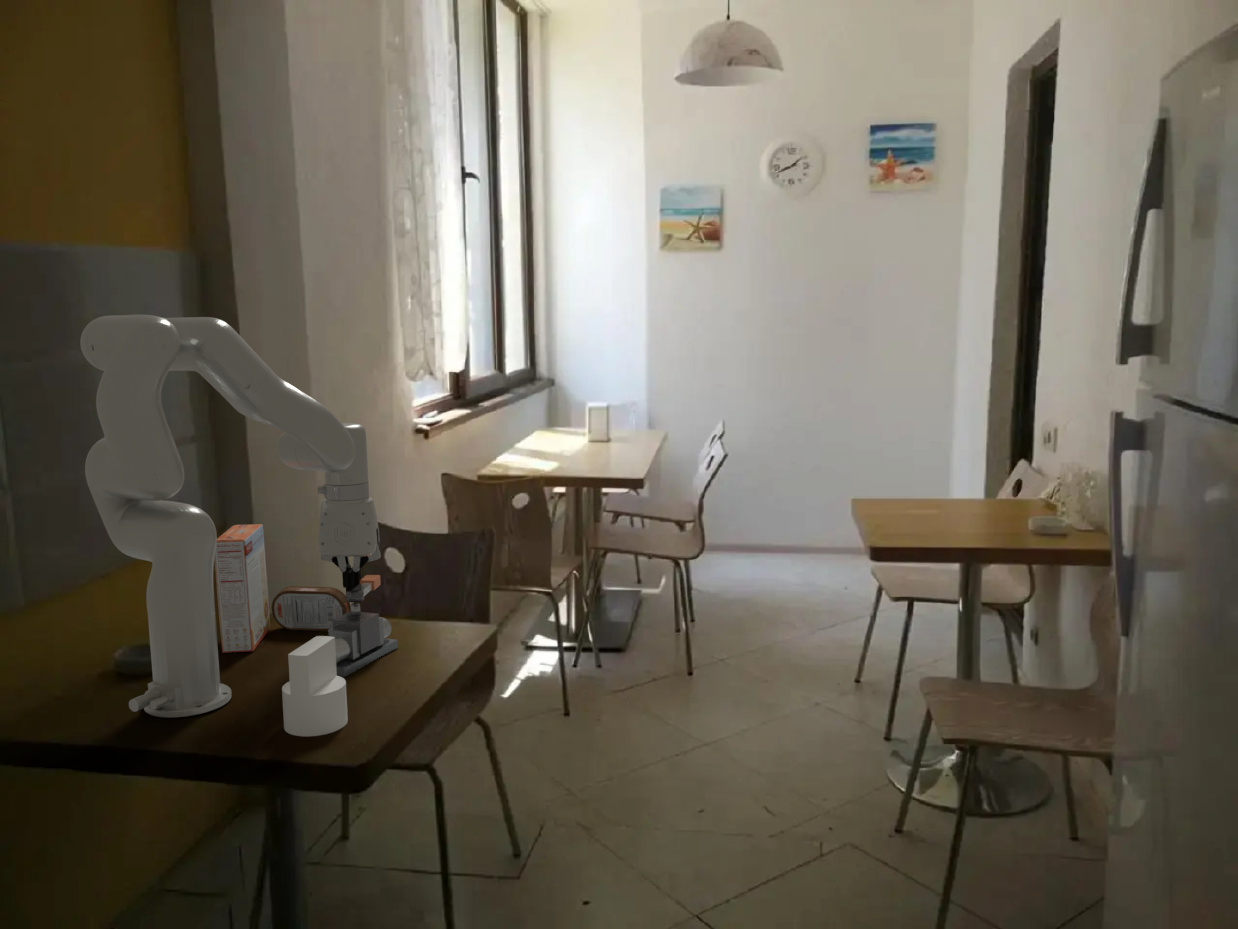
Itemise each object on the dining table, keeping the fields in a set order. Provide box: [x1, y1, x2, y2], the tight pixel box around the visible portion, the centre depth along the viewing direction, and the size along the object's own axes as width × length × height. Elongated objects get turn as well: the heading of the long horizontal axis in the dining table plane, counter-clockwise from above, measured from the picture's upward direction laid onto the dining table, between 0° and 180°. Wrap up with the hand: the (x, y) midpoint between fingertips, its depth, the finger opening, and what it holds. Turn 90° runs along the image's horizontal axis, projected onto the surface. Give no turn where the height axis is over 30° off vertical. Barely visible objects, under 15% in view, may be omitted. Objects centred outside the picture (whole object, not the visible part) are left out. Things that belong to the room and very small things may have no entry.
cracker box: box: [214, 523, 271, 654], centre depth 186 cm, size 14×6×21 cm, turn 6°
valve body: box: [327, 602, 399, 678], centre depth 176 cm, size 16×6×10 cm, turn 159°
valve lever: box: [345, 574, 381, 603], centre depth 180 cm, size 12×3×2 cm, turn 177°
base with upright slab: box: [281, 635, 349, 737], centre depth 148 cm, size 9×9×12 cm
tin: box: [271, 585, 351, 632], centre depth 194 cm, size 15×3×8 cm, turn 84°
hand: (352, 591), depth 184 cm, fingers closed
